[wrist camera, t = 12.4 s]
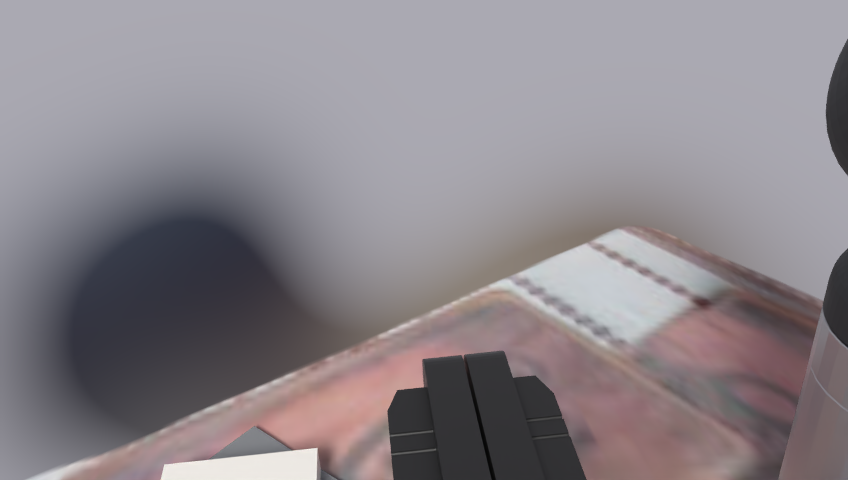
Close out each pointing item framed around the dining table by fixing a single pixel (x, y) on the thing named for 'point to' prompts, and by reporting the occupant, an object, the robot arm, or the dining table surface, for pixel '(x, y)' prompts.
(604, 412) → the dining table surface
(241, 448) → the mat
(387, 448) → the dining table surface
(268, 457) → the tile
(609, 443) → the dining table surface
